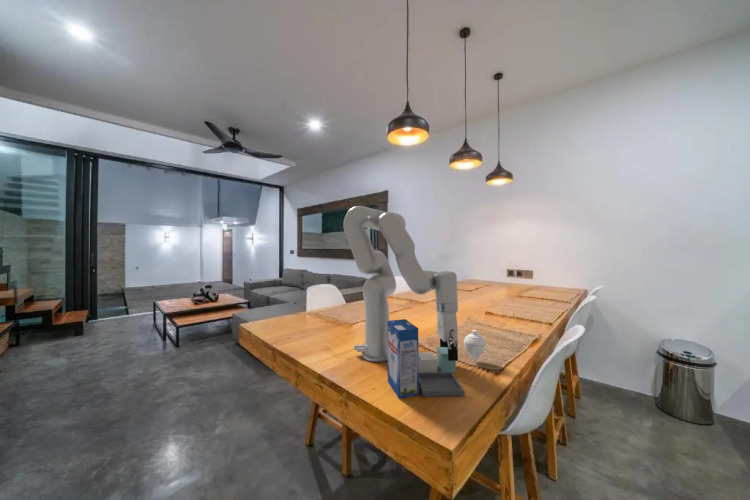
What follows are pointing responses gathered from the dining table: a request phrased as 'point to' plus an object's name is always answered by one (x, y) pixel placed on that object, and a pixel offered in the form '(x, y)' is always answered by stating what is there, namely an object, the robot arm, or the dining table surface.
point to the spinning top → (474, 344)
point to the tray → (439, 385)
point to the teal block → (445, 360)
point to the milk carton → (403, 358)
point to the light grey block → (427, 363)
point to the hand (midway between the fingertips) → (448, 354)
